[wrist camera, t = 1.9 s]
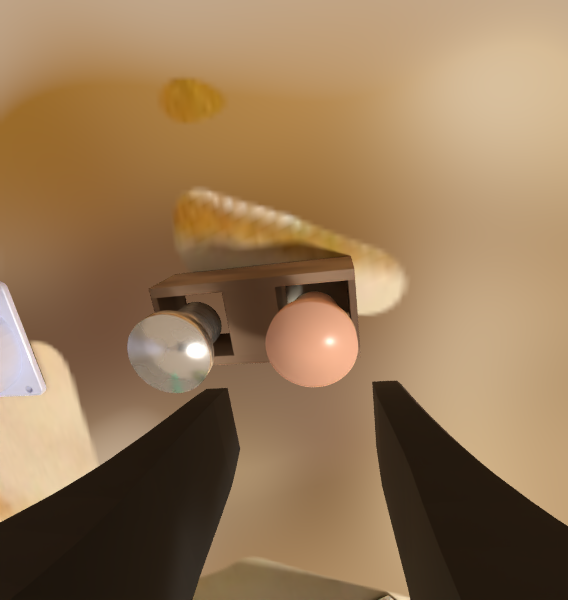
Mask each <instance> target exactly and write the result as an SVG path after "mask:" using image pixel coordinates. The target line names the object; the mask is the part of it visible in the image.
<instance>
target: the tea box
mask: <svg viewBox="0 0 568 600" xmlns="http://www.w3.org/2000/svg"><path fill="white" fill-rule="evenodd" d="M379 600H393V599H392V598H391V597H390V596H388V595H387V596H385V597H383V598H381V599H379Z"/></svg>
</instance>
